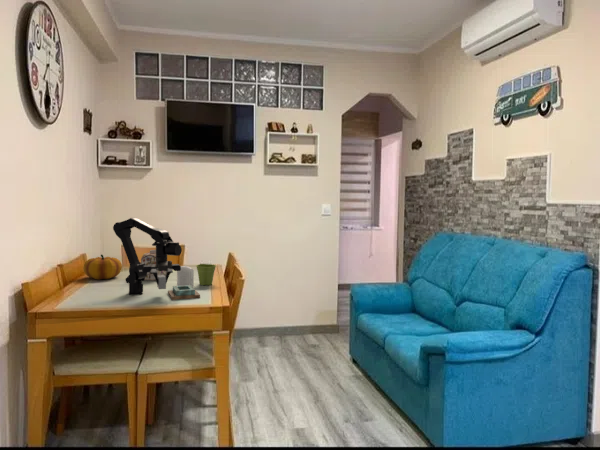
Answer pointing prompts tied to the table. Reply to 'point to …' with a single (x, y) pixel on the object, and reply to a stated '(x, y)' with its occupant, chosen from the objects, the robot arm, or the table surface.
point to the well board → (183, 292)
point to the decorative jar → (151, 264)
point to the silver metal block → (161, 282)
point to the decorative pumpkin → (102, 267)
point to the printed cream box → (185, 276)
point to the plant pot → (205, 273)
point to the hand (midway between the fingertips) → (161, 284)
